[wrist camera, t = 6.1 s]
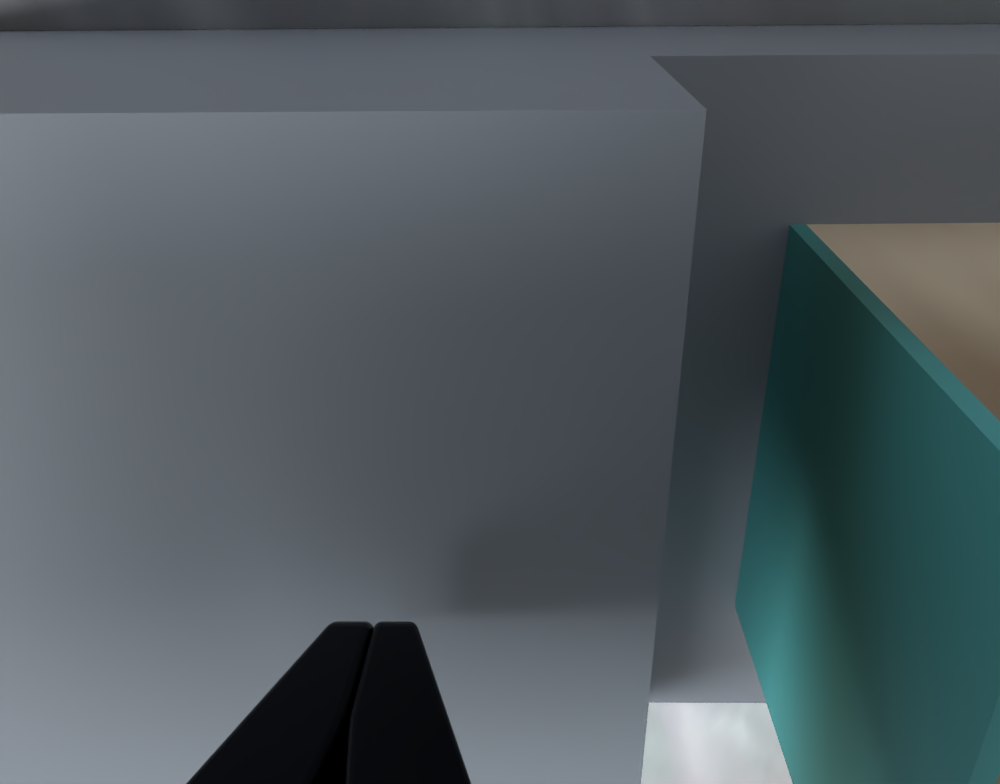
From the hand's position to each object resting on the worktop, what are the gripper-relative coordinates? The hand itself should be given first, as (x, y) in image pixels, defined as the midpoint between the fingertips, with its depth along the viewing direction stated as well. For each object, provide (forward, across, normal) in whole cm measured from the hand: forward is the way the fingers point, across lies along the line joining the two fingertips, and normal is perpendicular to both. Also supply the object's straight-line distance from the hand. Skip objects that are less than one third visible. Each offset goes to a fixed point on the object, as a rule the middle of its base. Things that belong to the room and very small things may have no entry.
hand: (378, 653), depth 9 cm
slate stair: (+7, -2, 0) cm, 8 cm away
